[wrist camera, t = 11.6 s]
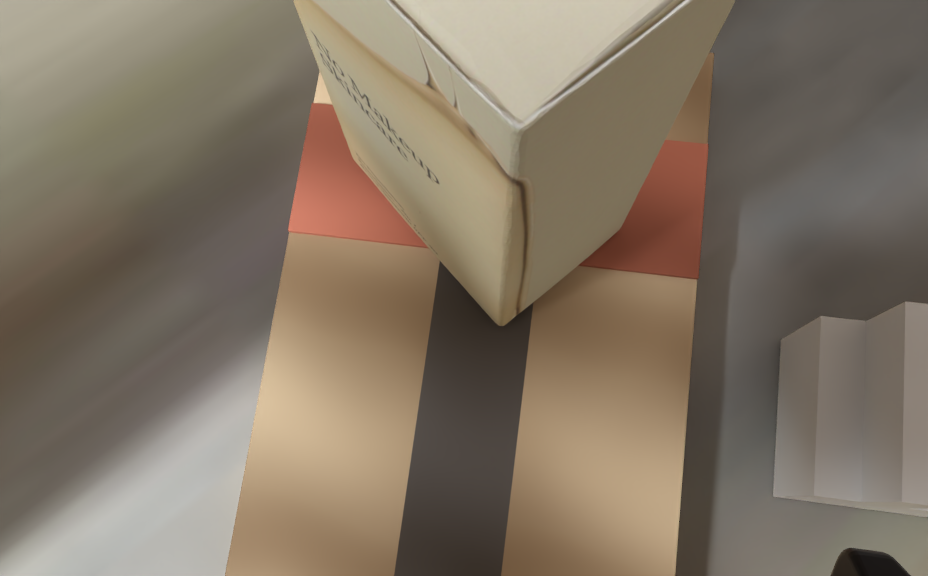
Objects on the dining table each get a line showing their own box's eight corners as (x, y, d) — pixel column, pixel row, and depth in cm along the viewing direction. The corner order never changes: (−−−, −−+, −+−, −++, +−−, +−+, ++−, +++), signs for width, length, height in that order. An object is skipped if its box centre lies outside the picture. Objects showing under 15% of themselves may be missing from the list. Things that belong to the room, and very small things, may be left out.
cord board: (654, 727, 21) (663, 743, 19) (223, 660, 22) (205, 670, 20) (704, 74, 25) (715, 49, 23) (338, 38, 25) (329, 12, 24)
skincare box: (349, 159, 23) (187, -199, 11) (478, 57, 24) (451, -387, 12) (506, 338, 22) (507, 144, 10) (639, 226, 22) (789, -86, 10)
